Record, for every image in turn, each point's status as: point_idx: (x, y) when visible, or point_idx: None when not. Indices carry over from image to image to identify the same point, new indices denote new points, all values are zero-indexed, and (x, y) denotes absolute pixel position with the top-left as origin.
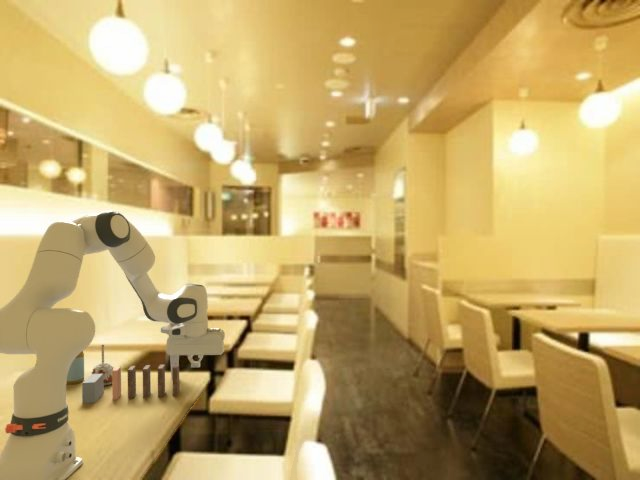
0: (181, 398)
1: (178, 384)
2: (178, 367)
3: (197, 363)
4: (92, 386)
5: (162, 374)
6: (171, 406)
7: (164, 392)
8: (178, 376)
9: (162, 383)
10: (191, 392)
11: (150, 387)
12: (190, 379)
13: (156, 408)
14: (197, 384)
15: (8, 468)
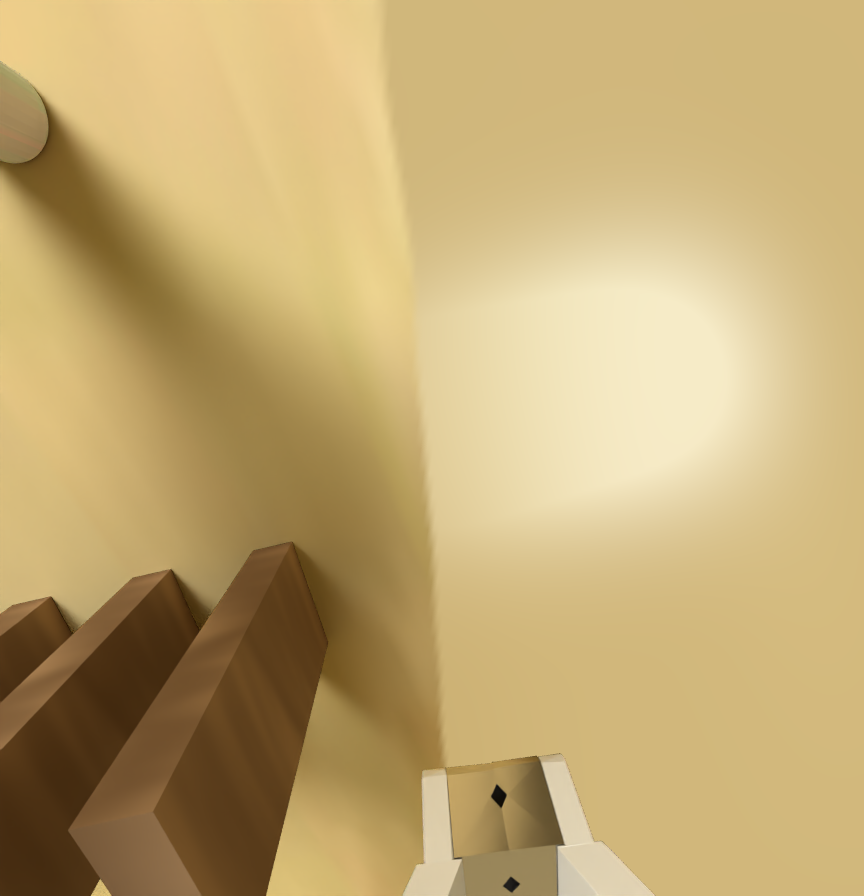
0: (384, 685)
1: (288, 641)
2: (209, 824)
3: (553, 889)
4: None
5: (91, 892)
6: (376, 809)
7: (180, 598)
8: (260, 703)
9: None
10: (413, 562)
11: (9, 629)
12: (231, 142)
13: (294, 842)
14: (389, 337)
15: None
